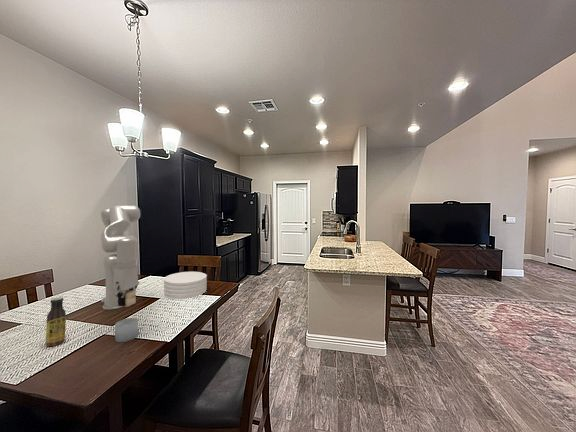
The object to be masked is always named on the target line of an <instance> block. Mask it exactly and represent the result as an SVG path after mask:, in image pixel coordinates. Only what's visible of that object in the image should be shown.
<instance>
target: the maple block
mask: <svg viewBox="0 0 576 432" xmlns="http://www.w3.org/2000/svg"><path fill="white" fill-rule="evenodd" d="M136 292H137V289H136V290H125V295H124V297H125V306H123V307H124V308H127V307H130V306H131V305H134V304H136V301H137V300H136V299H137V298H136ZM121 294H122V292H121ZM117 301H118V297H117ZM123 307H122V308H123Z"/></svg>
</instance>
